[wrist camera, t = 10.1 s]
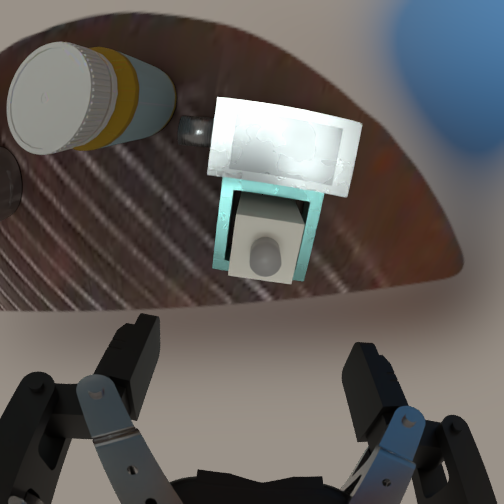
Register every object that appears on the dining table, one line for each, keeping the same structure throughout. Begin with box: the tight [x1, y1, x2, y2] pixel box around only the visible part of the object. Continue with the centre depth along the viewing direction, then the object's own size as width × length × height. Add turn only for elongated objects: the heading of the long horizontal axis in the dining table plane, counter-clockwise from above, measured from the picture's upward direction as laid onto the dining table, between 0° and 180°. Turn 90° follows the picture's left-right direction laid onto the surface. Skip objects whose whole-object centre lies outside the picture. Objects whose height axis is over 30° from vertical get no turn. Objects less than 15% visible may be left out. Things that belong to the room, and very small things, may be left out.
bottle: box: [7, 42, 177, 155], centre depth 18 cm, size 7×7×15 cm
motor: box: [178, 97, 362, 281], centre depth 25 cm, size 13×15×8 cm
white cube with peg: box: [228, 192, 305, 284], centre depth 26 cm, size 5×5×9 cm
